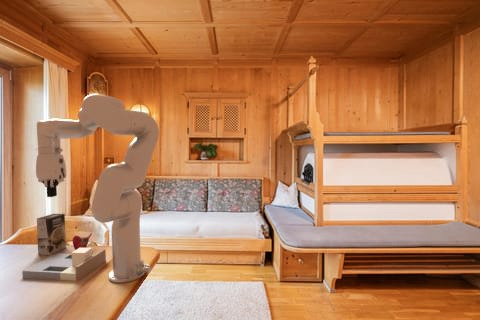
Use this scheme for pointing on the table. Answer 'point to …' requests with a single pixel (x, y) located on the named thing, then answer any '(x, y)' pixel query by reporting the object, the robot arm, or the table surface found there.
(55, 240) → the coffee box
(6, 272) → the table surface
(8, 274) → the table surface
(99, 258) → the board
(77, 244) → the decorative bird figurine
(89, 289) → the table surface
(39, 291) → the table surface
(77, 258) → the cream block
